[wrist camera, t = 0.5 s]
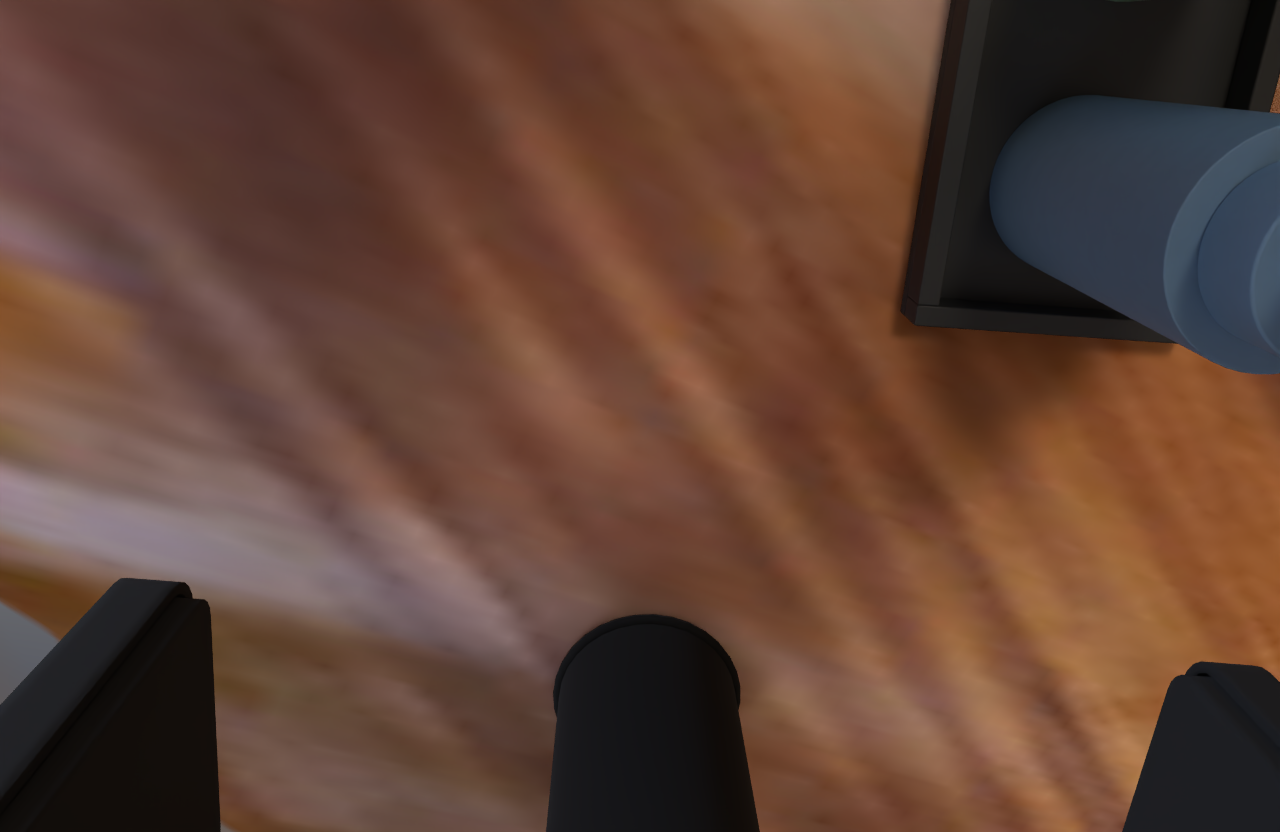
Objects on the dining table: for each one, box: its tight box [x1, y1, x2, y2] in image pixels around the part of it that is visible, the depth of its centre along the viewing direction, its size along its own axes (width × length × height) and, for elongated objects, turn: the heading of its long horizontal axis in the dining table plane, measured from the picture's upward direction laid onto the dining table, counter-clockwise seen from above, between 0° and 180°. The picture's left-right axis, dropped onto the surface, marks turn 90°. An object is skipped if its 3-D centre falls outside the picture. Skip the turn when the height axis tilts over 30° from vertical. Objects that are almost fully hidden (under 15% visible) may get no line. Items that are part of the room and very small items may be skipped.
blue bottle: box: [989, 95, 1280, 374], centre depth 29 cm, size 6×6×20 cm
